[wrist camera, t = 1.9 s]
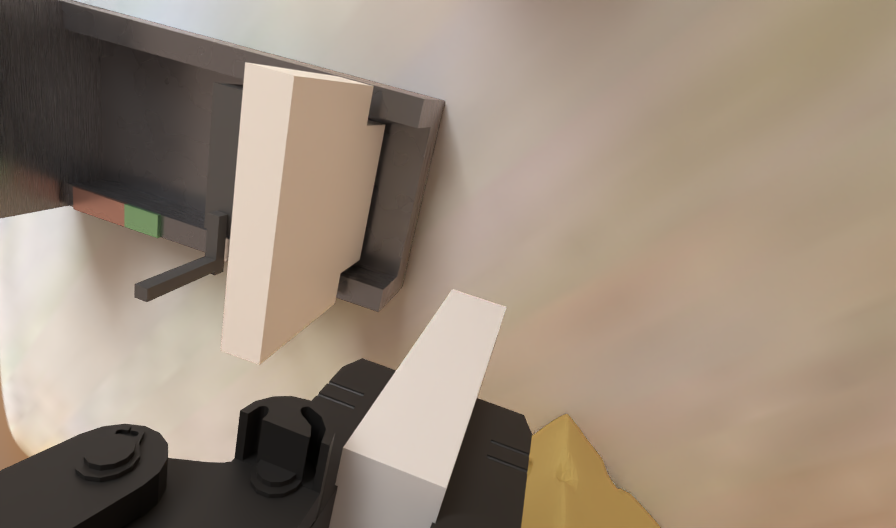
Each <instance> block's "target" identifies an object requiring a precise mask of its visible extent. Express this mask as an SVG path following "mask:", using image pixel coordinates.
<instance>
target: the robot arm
mask: <svg viewBox="0 0 896 528" xmlns="http://www.w3.org/2000/svg"><path fill="white" fill-rule="evenodd" d="M506 308H507V307H506V306H503V305H500V304H496V303H493V302H490V301H487V300H484V299H481V298H478V297H475V296H472V295H469V294H466V293H463V292H460V291H457V290H454V289H452V290H451V292H450V293H449V295H448V296H447V297H446V299H445V300H444V302H443V303H442V305H441V306H440V308H439V309H438V310H437V312H436V313H435V315H434V316H433V318H432V319H431V321H430V322H429V324H428V325H427V326H426V328H425V329H424V331H423V332H422V334H421V335H420V337H419V338H418V340H417V341H416V342H415V344H414V345H413V347H412V348H411V350H410V351H409V353H408V354H407V356H406V357H405V358H404V360H403V361H402V363H401V364H400V366H399V367H398V369H397V370H393V369H390V368H387V367H385V366H382V365H379V364H376V363H374V362H371V361H368V360H365V359H363V358H362V359H360V360H357V361H355V362H353V363H350V364H348V365H346V366H344V367H342V368H341V369H340V370H339V371H338V372H337V374H336V375H335V376H334V377H333V378H332V379H331V380H330V382H329V384H326V386H325V387H324V388H323V389H322V390H321V391H320V392H319V394H318V396H315V398H314V399H313V400H312V401H310V400H306V399H301V398H297V397H293V396H278V397H270V398H266V399H262V400H258V401H255V402H253V403H252V404H250V405H248V406H247V407H245V408H243V409H242V410H240V417H239V425H238V434H237V442H236V451H235V458H234V459H233V460H232V461H231V462H225V463H214V462H200V461H191V460H182V459H172V458H168V443H167V442H166V441H165V439H164V438H163V437H162V435H161V434H160V433H159V432H156V431H154V430H152V429H150V428H148V427H146V426H139V425H131V424H120V425H111V426H103V427H100V428H97V429H94V430H91V431H88V432H85V433H82V434H79V435H77V436H75V437H73V438H71V439H68V440H66V441H64V442H62V443H60V444H58V445H55V446H53V447H51V448H49V449H47V450H44V451H42V452H40V453H38V454H36V455H33V456H31V457H29V458H27V459H25V460H23V461H20V462H18V463H16V464H14V465H12V466H10V467H7V468H5V469H3V470H1V471H0V528H521V524H522V516H523V507H524V499H525V490H526V482H527V471H528V465H529V455H530V448H531V440H532V433H531V431H530V429H529V426H528V424H527V421H526V419H525V417H524V415H522V414H519V413H516V412H514V411H511V410H508V409H505V408H503V407H500V406H497V405H494V404H492V403H489V402H486V401H483V400H481V399H478V395H479V392H480V389H481V386H482V383H483V379H484V376H485V373H486V370H487V367H488V364H489V361H490V358H491V355H492V351H493V348H494V345H495V342H496V339H497V336H498V333H499V330H500V326H501V323H502V320H503V317H504V314H505V311H506Z"/></svg>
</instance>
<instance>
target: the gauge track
mask: <svg viewBox="0 0 896 528" xmlns="http://www.w3.org/2000/svg"><path fill="white" fill-rule="evenodd" d="M245 62H247V63H254V64H260V65H267V66H273V67H280V68H286V69H293V70H300V71H306V72H313V73H319V74H326V75H332V76H338V77H342V78H346V79H349V80H353V81H357V82H361V83H364V84H368V85H372V86H374V87H373V93H372V98H371V104H370V110H369V115H368V120H371V121H374V122H378V123H381V124H385V130H384V135H383V141H382V146H381V151H380V156H379V162H378V167H377V172H376V177H375V182H374V188H373V193H372V198H371V203H370V209H369V214H368V219H367V224H366V230H365V235H364V240H363V245H362V251H361V256H360V260H359V261H357V262H356V263H354V264H353V265H352V266H350V267H349V268H347V269H346V270H344V271H343V272H342V273H340V279H339V284H338V290H337V295H336V298H339V299H342V300H345V301H348V302H351V303H354V304H357V305H360V306H362V307H365V308H368V309H371V310H374V311H377V312H379V311H380V310H381V309H382V308H383V307H384V306H385V305H386V304H387V303H388V302H389V300H390V299H391V298H392V297H393V296H394V295H395V294H396V293H397V292H398V291H399V290H400V289H401V288H402V286H403V281H404V277H405V273H406V268H407V264H408V259H409V255H410V251H411V246H412V242H413V238H414V233H415V229H416V225H417V220H418V216H419V212H420V207H421V203H422V199H423V194H424V190H425V186H426V181H427V177H428V172H429V168H430V164H431V159H432V155H433V151H434V146H435V142H436V138H437V133H438V129H439V125H440V120H441V116H442V112H443V107H444V103H445V101H444V100H440V99H437V98H433V97H429V96H425V95H422V94H418V93H414V92H411V91H407V90H403V89H399V88H396V87H392V86H388V85H385V84H381V83H377V82H373V81H370V80H366V79H362V78H359V77H355V76H351V75H347V74H344V73H340V72H336V71H333V70H329V69H325V68H321V67H318V66H314V65H310V64H307V63H303V62H299V61H296V60H292V59H288V58H284V57H281V56H277V55H273V54H270V53H266V52H262V51H258V50H255V49H251V48H247V47H244V46H240V45H236V44H232V43H229V42H225V41H221V40H218V39H214V38H210V37H206V36H203V35H199V34H195V33H192V32H188V31H184V30H180V29H177V28H173V27H169V26H166V25H162V24H158V23H155V22H151V21H147V20H143V19H140V18H136V17H132V16H129V15H125V14H121V13H117V12H114V11H110V10H106V9H103V8H99V7H95V6H91V5H88V4H84V3H80V2H77V1H73V0H0V218H5V217H10V216H15V215H21V214H26V213H32V212H37V211H42V210H48V209H53V208H58V207H64V206H69V205H70V206H72V207H73V208H74V209H75V210H77V211H80V212H83V213H86V214H89V215H92V216H95V217H98V218H101V219H103V220H106V221H109V222H112V223H115V224H118V225H121V226H124V227H127V228H130V229H132V230H135V231H138V232H141V233H144V234H147V235H150V236H153V237H156V238H159V237H162V238H165V239H168V240H171V241H174V242H177V243H180V244H183V245H186V246H188V247H191V248H194V249H197V250H200V251H203V252H205V249H206V234H207V228H204V221H205V205H206V190H207V175H208V159H209V144H210V128H211V113H212V97H213V82H215V83H227V84H239V85H243V83H244V71H245ZM229 246H230V236H228V235H226V243H225V255H224V261H225V262H228V258H229Z"/></svg>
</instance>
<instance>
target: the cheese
mask: <svg viewBox="0 0 896 528" xmlns="http://www.w3.org/2000/svg"><path fill="white" fill-rule="evenodd" d="M521 528H661V527H660V526H659V525H658V524H657V523H656V521H655V520H654V519H653V518H652V517H651V516H650V515H649V513H648V512H647V511H646V510H645V509H644V508H643V507H642V506H641V505H640V503H639V502H638V501H637V500H636V499H635V498H634V497H633V496H632V495H631V494H630V493H628V492H625V491H624V490H622V489H617V488H616V487H615V485H614V484H613V483H612V481H611V480H610V478H609V476H608V474H607V471H606V469H605V466H604V463H603V460H602V459H601V457H600V456H599V454H598V453H597V452H596V450H595V449H594V448H593V447H592V445H591V444H590V443H589V442H588V440H587V439H586V438H585V436H584V435H583V433H582V432H581V430H580V429H579V428H578V426H577V425H576V424H575V422H574V421H573V420H572V419H571V417H570V416H569V415H567V414H565V415H563V416H560V417H559V418H557V419H555V420H553V421H552V422H551V423H549V424H548V425H546V426H545V427H544V428H542V429H541V430H540V431H538V432H537V433H535V434H534V435H533V436H532V440H531V448H530V455H529V465H528V471H527V482H526V490H525V499H524V507H523V516H522V524H521Z"/></svg>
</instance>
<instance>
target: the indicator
mask: <svg viewBox="0 0 896 528" xmlns="http://www.w3.org/2000/svg"><path fill="white" fill-rule="evenodd" d="M242 95H243V85H239V84H227V83H215V82H213V97H212V113H211V128H210V144H209V159H208V175H207V190H206V205H205V221H204V228H207V234H206V249H205V257H202V258H200V259H197V260H195V261H192V262H190V263H187V264H185V265H182V266H179V267H177V268H174V269H172V270H169V271H167V272H164V273H162V274H159V275H157V276H154V277H152V278H149V279H147V280H144V281H142V282H139V283H136V284H135V298H138V299H140V300H143V301H146V302H148V301H150V300H153V299H155V298H157V297H159V296H162V295H164V294H166V293H168V292H171V291H173V290H175V289H177V288H179V287H182V286H184V285H186V284H188V283H191V282H193V281H195V280H197V279H200V278H202V277H204V276H206V275H208V274H213V275H216V274H219V273H221V272H223V267H224V255H225V243H226V235H228V236H230V234H231V223H232V211H233V199H234V188H235V176H236V164H237V153H238V141H239V130H240V118H241V106H242Z"/></svg>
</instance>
